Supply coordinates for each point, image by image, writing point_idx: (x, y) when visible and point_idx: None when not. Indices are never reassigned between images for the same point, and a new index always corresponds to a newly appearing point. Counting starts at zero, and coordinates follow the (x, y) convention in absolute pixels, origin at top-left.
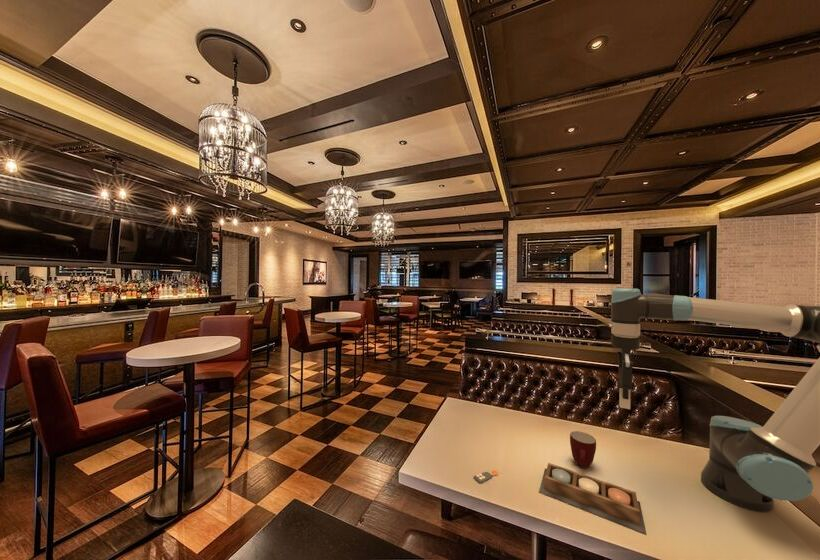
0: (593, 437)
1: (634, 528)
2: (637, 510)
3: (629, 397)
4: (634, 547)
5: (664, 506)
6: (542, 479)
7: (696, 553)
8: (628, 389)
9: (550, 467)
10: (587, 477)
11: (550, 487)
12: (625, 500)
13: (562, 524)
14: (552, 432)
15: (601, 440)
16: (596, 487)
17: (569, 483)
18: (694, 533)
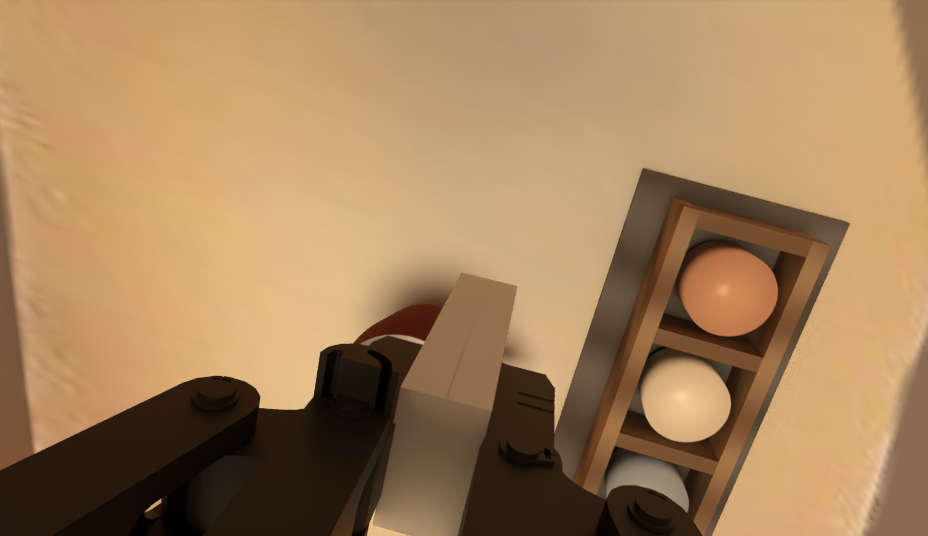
0: (374, 337)
1: (828, 258)
2: (822, 251)
3: (501, 353)
4: (924, 293)
5: (637, 63)
6: None
7: (906, 62)
8: (567, 479)
9: None
10: (631, 393)
11: None
12: (768, 281)
13: (861, 510)
14: None
15: (151, 170)
16: (705, 379)
17: (669, 464)
18: (787, 9)
